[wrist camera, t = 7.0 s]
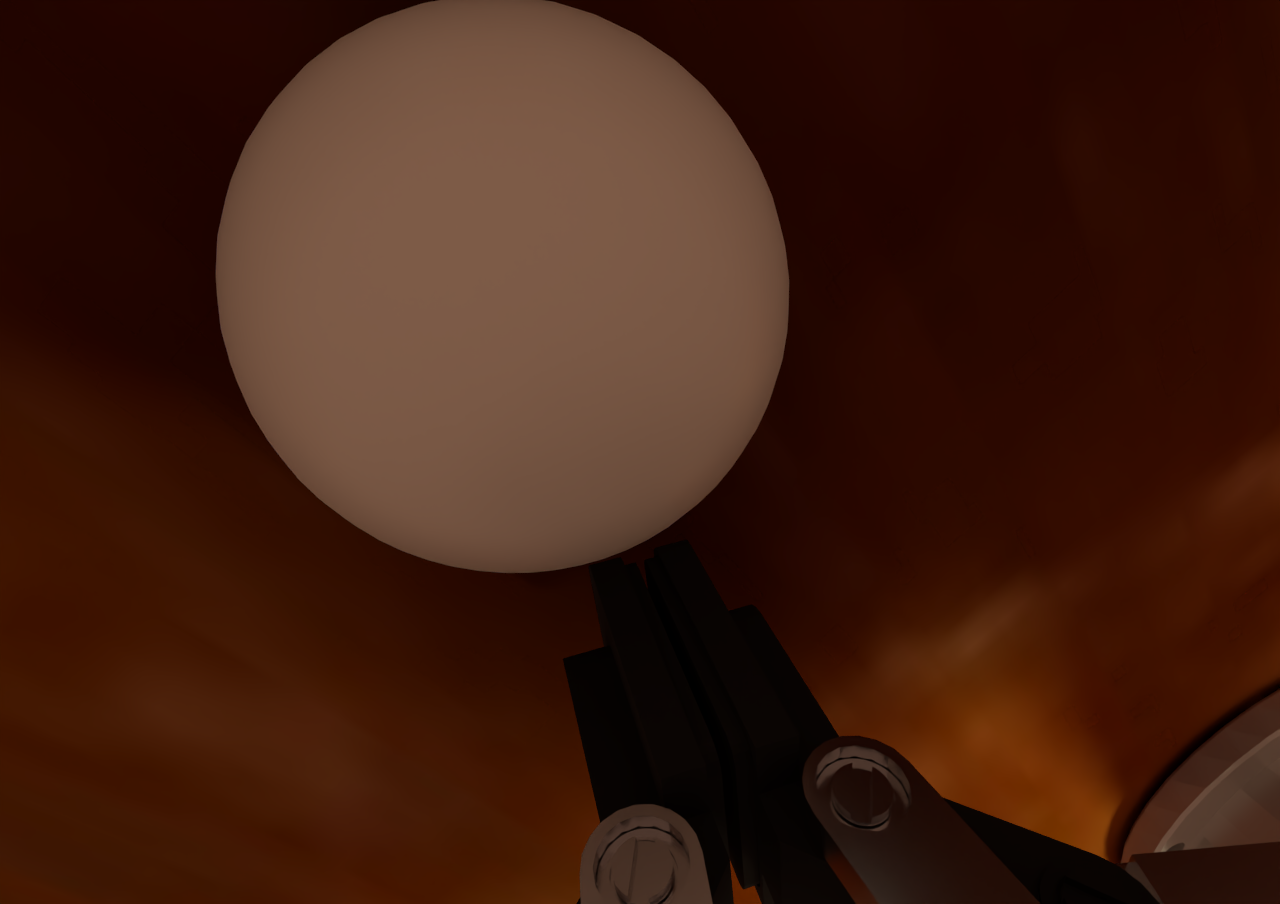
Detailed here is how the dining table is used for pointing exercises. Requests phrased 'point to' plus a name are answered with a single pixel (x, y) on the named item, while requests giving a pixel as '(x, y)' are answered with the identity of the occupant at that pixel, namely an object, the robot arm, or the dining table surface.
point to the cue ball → (502, 284)
